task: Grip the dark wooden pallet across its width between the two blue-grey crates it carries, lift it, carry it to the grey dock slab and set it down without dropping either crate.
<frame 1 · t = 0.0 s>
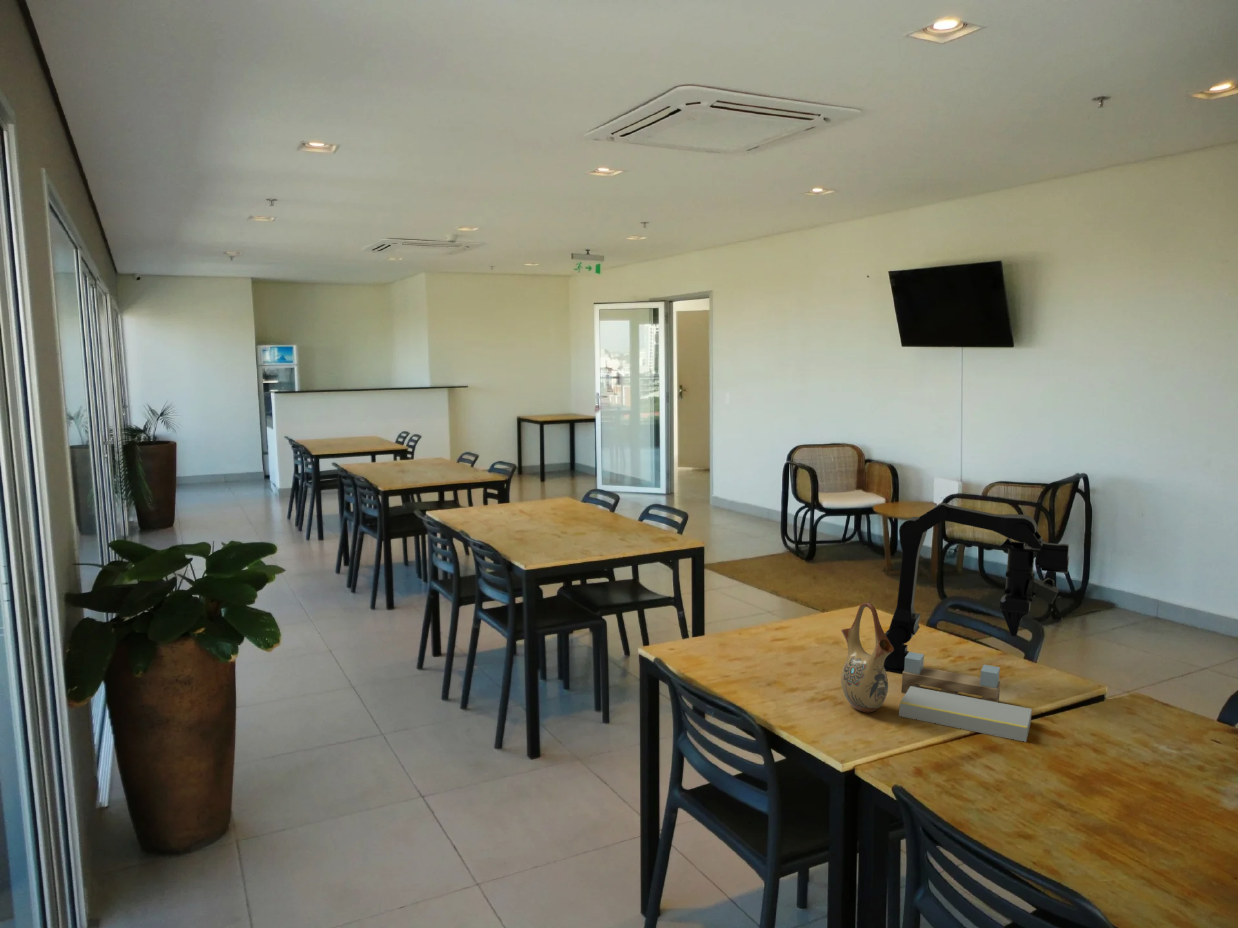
hand: (1015, 630, 211), 15 cm above the table, tool pointing down, fingers open, 9 cm apart
ceramic vessel: (863, 709, 199), on the table
dock: (964, 718, 194), on the table
pallet: (949, 696, 207), on the table, touching crate a, crate b
crate a: (913, 669, 211), point 5 cm above the table, touching pallet
crate b: (989, 683, 202), point 5 cm above the table, touching pallet
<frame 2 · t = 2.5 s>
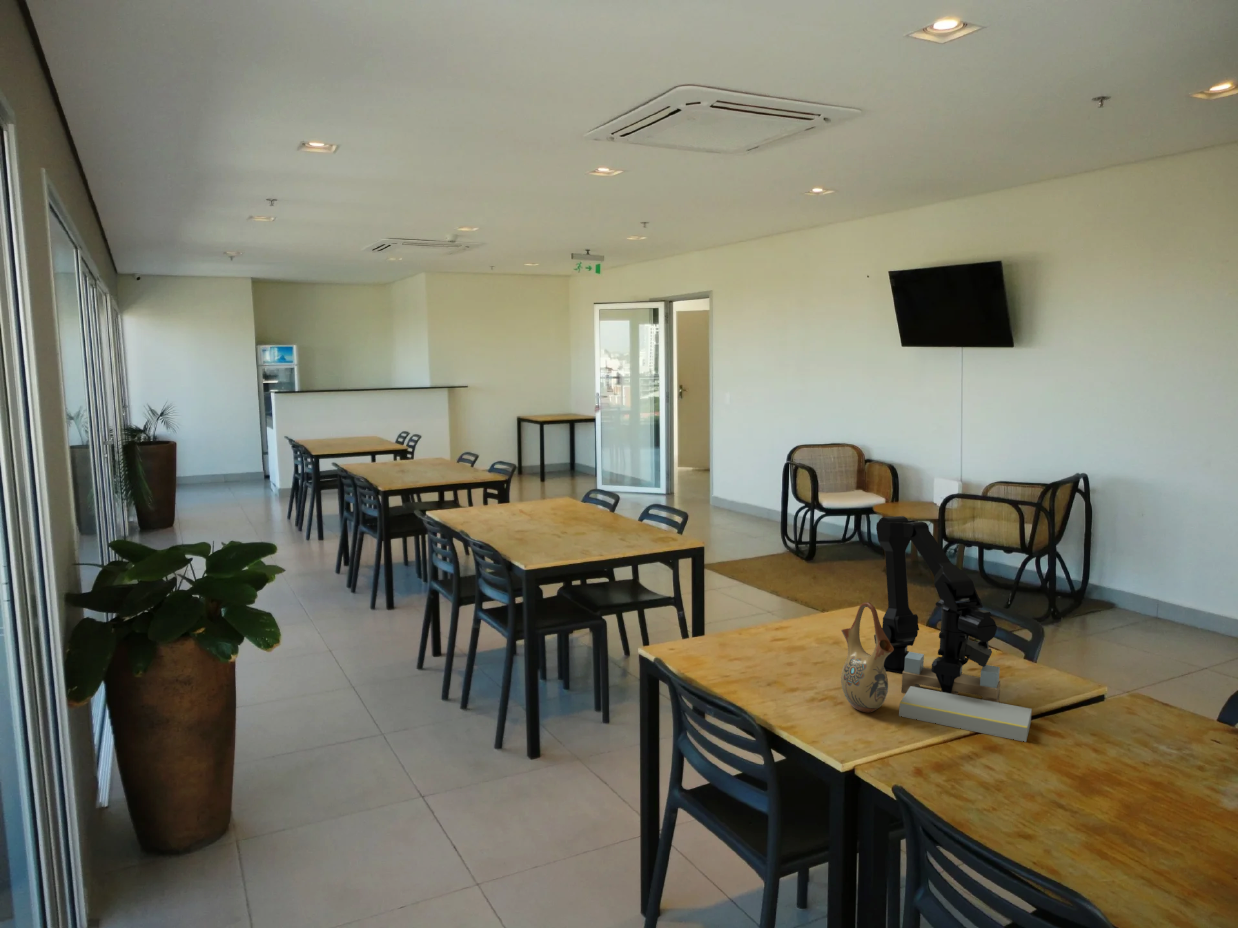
hand: (949, 692, 207), 1 cm above the table, tool pointing down, fingers closed on pallet, 6 cm apart
pallet: (949, 696, 207), on the table, touching crate a, crate b, gripper
everything else where it was.
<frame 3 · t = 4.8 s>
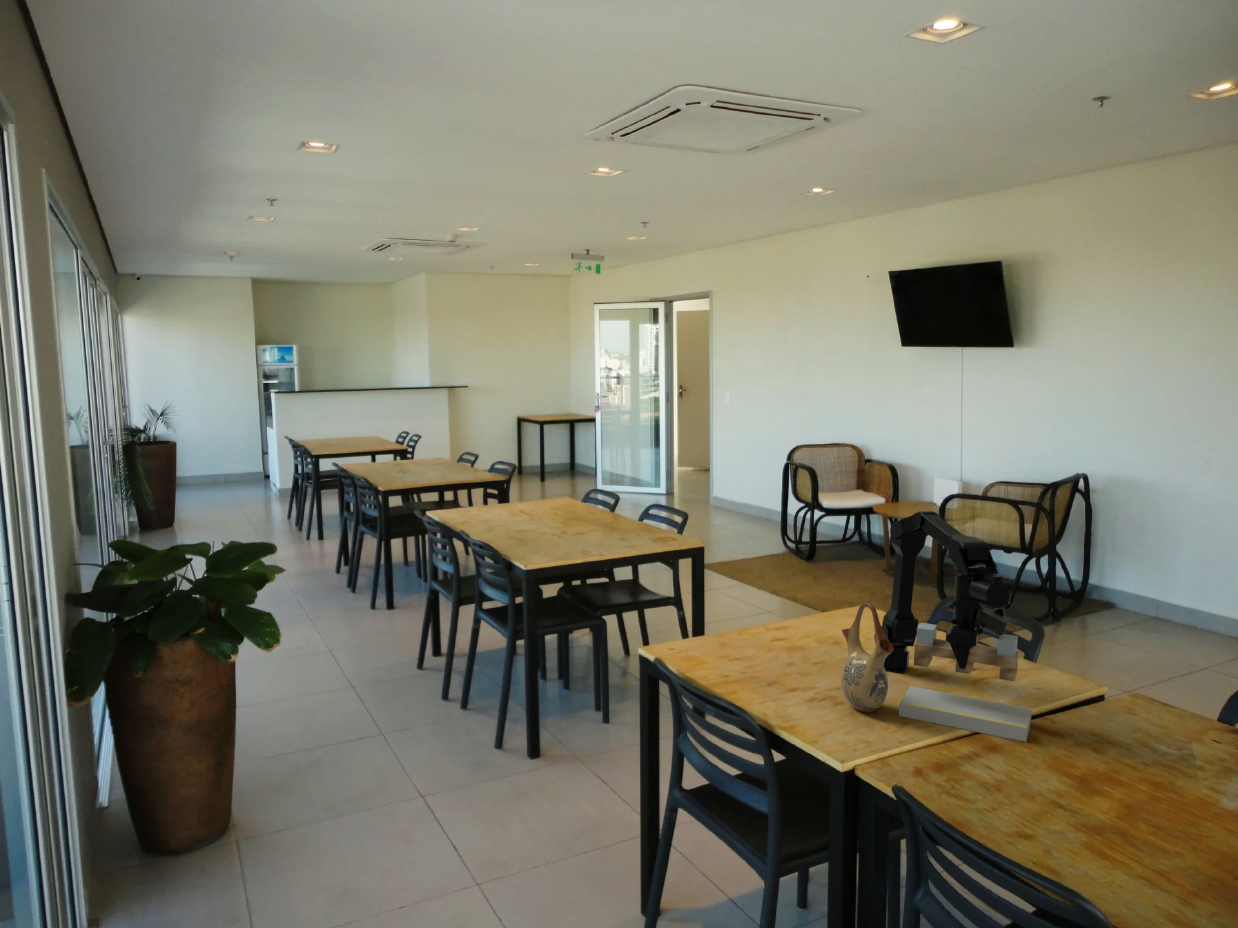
hand: (964, 664, 196), 11 cm above the table, tool pointing down, fingers closed on pallet, 6 cm apart
pallet: (964, 668, 196), point 10 cm above the table, touching crate a, crate b, gripper
crate a: (926, 641, 200), point 15 cm above the table, touching pallet
crate b: (1007, 653, 192), point 16 cm above the table, touching pallet
everything else where it was.
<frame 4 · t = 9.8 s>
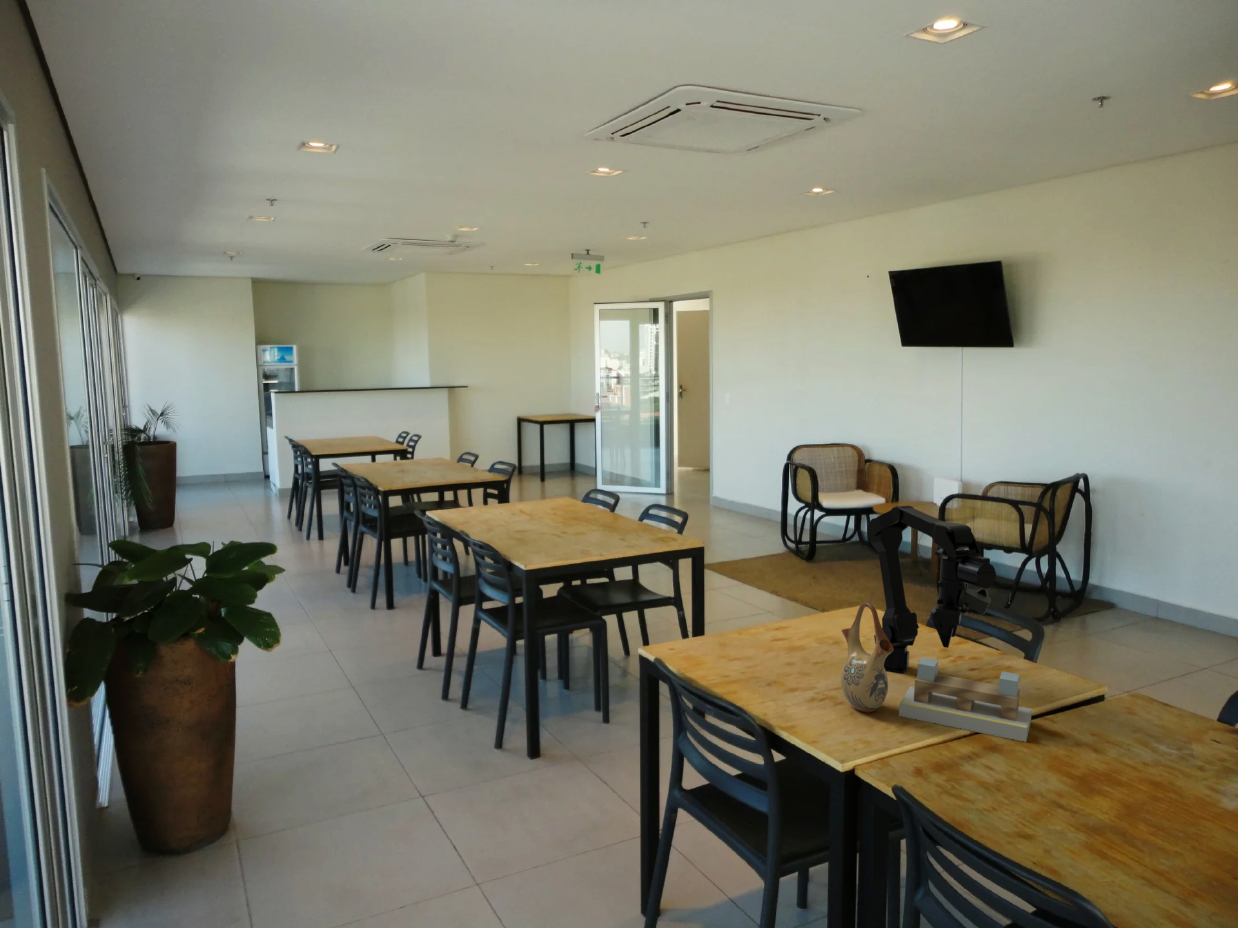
hand: (949, 641, 207), 13 cm above the table, tool pointing down, fingers open, 9 cm apart
pallet: (965, 705, 194), point 3 cm above the table, touching crate a, crate b, dock
crate a: (927, 676, 198), point 8 cm above the table, touching pallet
crate b: (1008, 691, 189), point 8 cm above the table, touching pallet
everything else where it was.
at the end: pallet inside the target area on the dock (0.1 cm from its centre), point 3.0 cm above the dock's base; crate a inside the target area on the pallet (8.4 cm from its centre), point 5.0 cm above the pallet's base; crate b inside the target area on the pallet (8.5 cm from its centre), point 5.0 cm above the pallet's base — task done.
